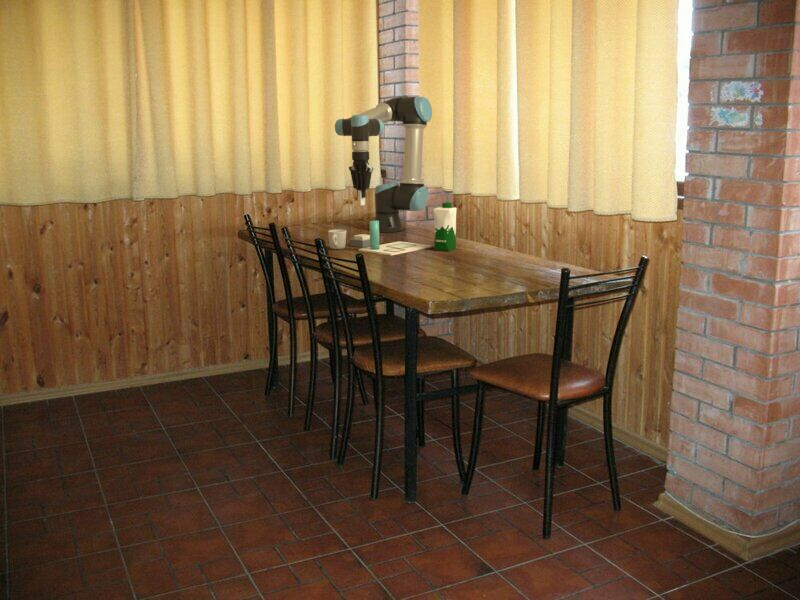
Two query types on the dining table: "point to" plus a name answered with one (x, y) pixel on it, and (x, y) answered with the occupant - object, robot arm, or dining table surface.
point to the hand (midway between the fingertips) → (361, 204)
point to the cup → (337, 238)
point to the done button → (362, 237)
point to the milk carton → (445, 227)
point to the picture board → (396, 248)
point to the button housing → (360, 243)
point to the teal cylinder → (374, 235)
